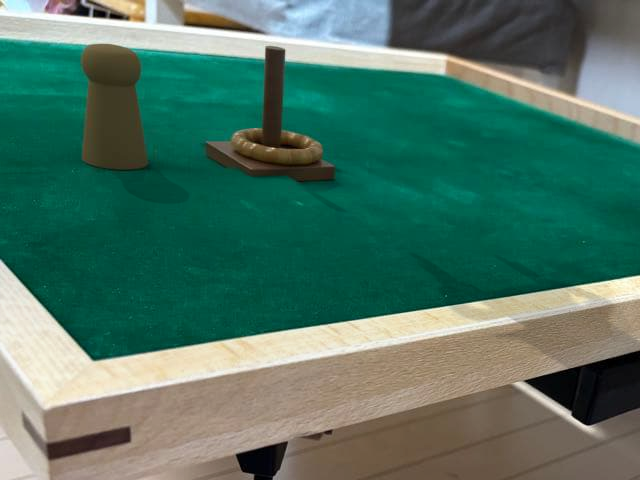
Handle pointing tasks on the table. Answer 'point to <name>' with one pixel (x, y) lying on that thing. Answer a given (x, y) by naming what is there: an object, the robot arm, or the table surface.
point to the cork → (112, 108)
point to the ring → (302, 155)
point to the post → (270, 132)
